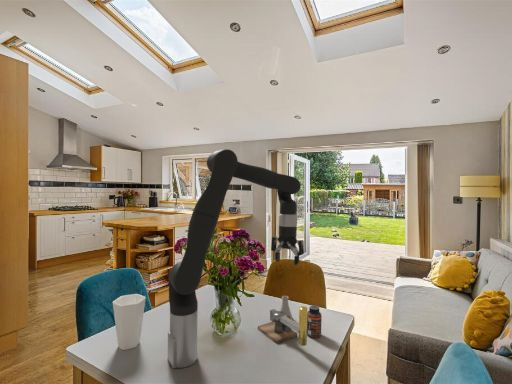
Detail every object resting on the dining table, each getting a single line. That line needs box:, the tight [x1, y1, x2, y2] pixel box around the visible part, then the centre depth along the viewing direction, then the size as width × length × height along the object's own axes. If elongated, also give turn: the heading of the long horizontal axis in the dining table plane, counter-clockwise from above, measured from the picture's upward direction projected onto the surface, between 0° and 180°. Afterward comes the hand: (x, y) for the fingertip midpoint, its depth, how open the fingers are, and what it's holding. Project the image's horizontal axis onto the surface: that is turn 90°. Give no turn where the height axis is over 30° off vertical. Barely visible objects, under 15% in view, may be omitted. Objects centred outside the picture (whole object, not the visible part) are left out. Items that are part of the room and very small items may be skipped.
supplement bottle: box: [307, 304, 323, 339], centre depth 112 cm, size 6×6×11 cm
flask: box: [279, 295, 293, 320], centre depth 125 cm, size 7×7×10 cm
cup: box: [112, 293, 146, 351], centre depth 103 cm, size 11×10×17 cm
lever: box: [269, 305, 308, 347], centre depth 107 cm, size 20×5×13 cm, turn 34°
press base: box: [257, 315, 298, 345], centre depth 113 cm, size 13×10×7 cm
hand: (286, 263), depth 115 cm, fingers open, 8 cm apart
